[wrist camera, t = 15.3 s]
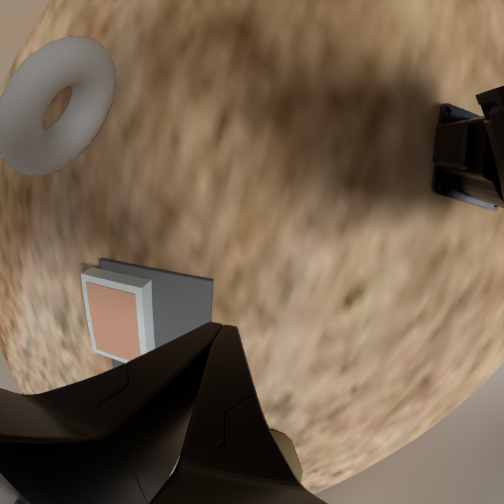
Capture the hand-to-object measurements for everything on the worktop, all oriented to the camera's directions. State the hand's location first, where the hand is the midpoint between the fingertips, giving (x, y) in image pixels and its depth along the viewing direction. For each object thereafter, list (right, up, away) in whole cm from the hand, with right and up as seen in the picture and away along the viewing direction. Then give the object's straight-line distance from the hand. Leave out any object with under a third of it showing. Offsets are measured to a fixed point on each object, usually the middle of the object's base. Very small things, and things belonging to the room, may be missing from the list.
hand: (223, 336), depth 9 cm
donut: (-11, +13, +11) cm, 21 cm away
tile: (-8, -4, +14) cm, 17 cm away
